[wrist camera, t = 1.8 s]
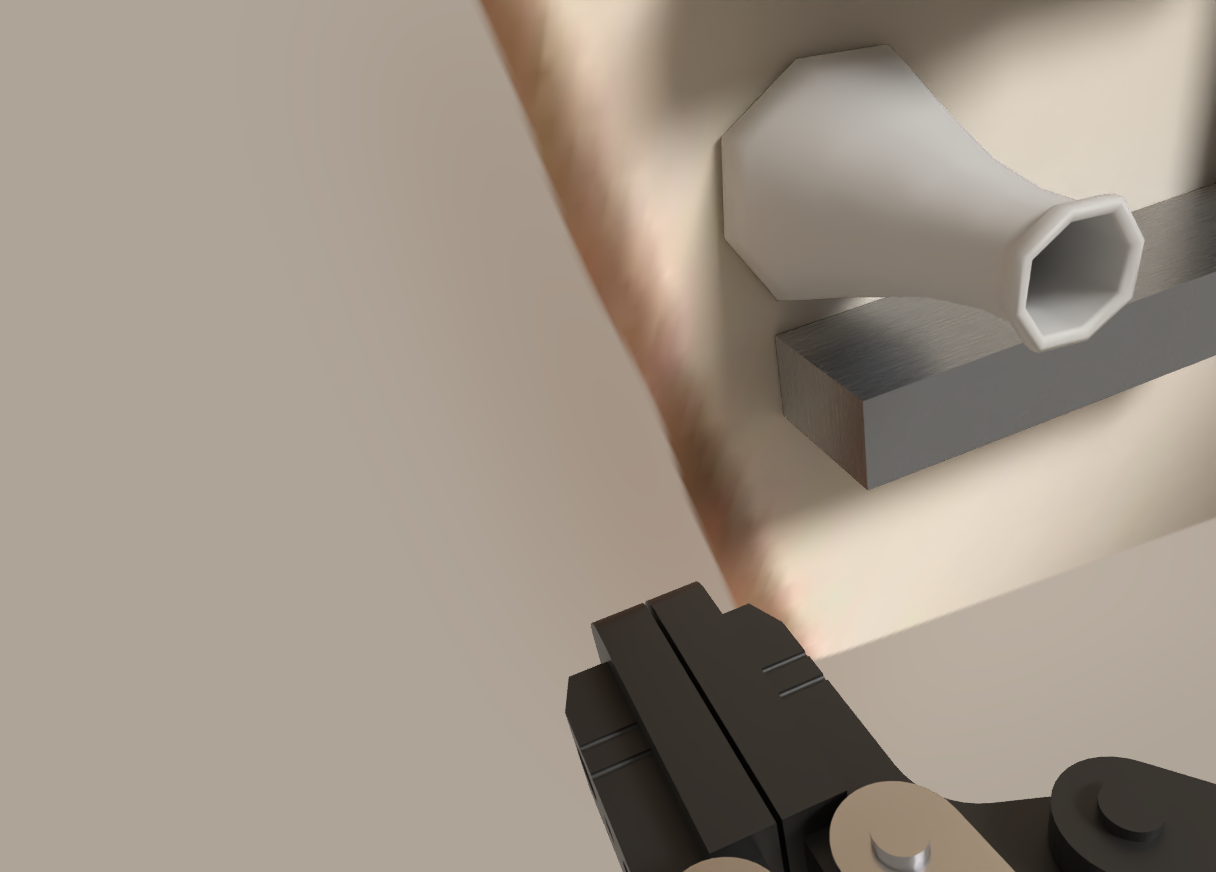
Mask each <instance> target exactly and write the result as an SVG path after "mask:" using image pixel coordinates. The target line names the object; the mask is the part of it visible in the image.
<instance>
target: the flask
mask: <svg viewBox="0 0 1216 872" xmlns="http://www.w3.org/2000/svg"><path fill="white" fill-rule="evenodd" d="M721 146H722V178H723V210H724V238H725V240H726V241H727V242H728V243H729V244H730V245H731V247H732V248H733V249H734V250H735V251H736V252H737V254H738V255H739V256H740V257H741V258H742V259H743V261H744V262H745V263H746V264H747V265H748V266H749V268H750V269H751V270H752V271H753V272H754V273H755V275H756V276H757V277H758V278H759V279H760V280H761V281H762V283H763V284H764V285H765V286H766V287H767V288H768V290H769V291H770V292H771V293H772V294H773V295H774V297H775V298H776V299H777V300H810V299H828V298H846V297H927V298H932V299H937V300H941V301H946V302H951V303H955V304H960V305H965V306H969V307H974V308H979V309H982V310H984V311H986V312H988V313H990V314H992V315H995V316H997V317H999V318H1001V319H1003V320H1005V321H1007V322H1010V323H1011V325H1012V326H1013V328H1014V329H1015V331H1016V332H1017V334H1018V336H1019V337H1020V339H1021V340H1022V342H1023V343H1024V344H1025V345H1026V346H1027V347H1028V348H1029V349H1030V350H1031V351H1034V352H1036V353H1042V352H1046V351H1050V350H1054V349H1058V348H1061V347H1065V346H1069V345H1073V344H1077V343H1081V342H1085V341H1088V340H1089V339H1090V338H1091V337H1092V336H1093V335H1094V334H1095V333H1096V332H1097V331H1098V330H1099V329H1100V328H1101V327H1103V326H1104V325H1105V324H1106V323H1107V322H1108V321H1109V320H1110V319H1111V318H1112V317H1113V316H1114V315H1115V314H1116V313H1117V312H1118V311H1119V310H1120V309H1121V308H1123V307H1124V306H1125V305H1126V304H1127V303H1128V302H1129V301H1130V300H1131V299H1132V298H1133V294H1134V289H1135V284H1136V280H1137V275H1138V270H1139V265H1140V260H1141V255H1142V251H1143V246H1144V241H1145V240H1144V237H1143V235H1142V233H1141V231H1140V229H1139V227H1138V225H1137V223H1136V221H1135V219H1134V217H1133V215H1132V213H1131V211H1130V209H1129V207H1128V205H1127V202H1126V200H1125V198H1124V197H1122V196H1119V195H1116V194H1104V195H1099V196H1094V197H1090V198H1085V199H1081V200H1074V199H1071V198H1068V197H1065V196H1062V195H1059V194H1056V193H1053V192H1050V191H1047V190H1044V189H1041V188H1040V187H1038V186H1037V185H1035V184H1033V183H1032V182H1030V181H1029V180H1027V179H1026V178H1024V177H1022V176H1021V175H1019V174H1018V173H1016V172H1014V171H1013V170H1011V169H1010V168H1008V167H1007V166H1005V165H1003V164H1002V163H1000V162H999V161H997V160H995V159H994V158H993V157H992V156H991V155H990V154H989V153H988V152H987V151H986V150H985V149H984V148H983V147H982V146H981V145H980V144H979V143H978V142H977V141H976V140H975V139H974V138H973V137H972V136H971V134H970V133H969V132H968V131H967V130H966V129H965V128H964V127H963V126H962V125H961V124H960V123H959V122H958V121H957V120H956V119H955V118H954V117H953V116H952V115H951V114H950V113H949V112H948V111H947V110H946V109H945V108H944V107H943V106H942V105H941V103H940V102H939V101H938V100H937V99H936V98H935V96H934V95H933V94H932V93H931V92H930V91H929V89H928V88H927V87H926V86H925V85H924V84H923V82H922V81H921V80H920V79H919V78H918V77H917V75H916V74H915V73H914V72H913V71H912V70H911V68H910V67H909V66H908V65H907V64H906V62H905V61H904V60H903V59H902V58H901V57H900V56H899V55H898V54H897V53H896V52H895V51H894V50H893V49H892V48H891V47H890V45H889V44H886V45H880V46H873V47H867V48H861V49H854V50H848V51H842V52H835V53H829V54H822V55H816V56H810V57H803V58H797V59H795V61H794V62H793V63H792V64H791V65H790V66H789V67H788V68H787V69H786V70H785V71H784V72H783V73H782V74H781V75H780V76H779V77H778V78H777V79H776V80H775V81H774V82H773V84H772V85H771V86H770V87H769V88H768V89H767V90H766V91H765V92H764V93H763V94H762V95H761V96H760V97H759V98H758V99H757V100H756V101H755V102H754V103H753V104H752V105H751V107H750V108H749V109H748V110H747V111H746V112H745V113H744V114H743V115H742V116H741V117H740V118H739V119H738V120H737V121H736V122H735V123H734V124H733V125H732V126H731V127H730V129H729V130H728V131H727V132H726V133H725V134H724V135H723V136H722V137H721Z"/></svg>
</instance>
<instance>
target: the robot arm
mask: <svg viewBox="0 0 1216 872" xmlns="http://www.w3.org/2000/svg"><path fill="white" fill-rule="evenodd" d="M591 628H592V632H593V636H594V640H595V643H596V647H597V650H598V654H599V658H600V661H601V664H600V665H597V666H595V667H592V668H590V669H587V670H585V671H583V672H580V673H577V674H575V675H573V676H570V677H569V681H568V690H567V700H566V709H565V713H566V717H567V720H568V723H569V725H570V729H571V732H572V735H573V738H574V741H575V744H576V747H577V750H578V754H579V756H580V760H581V763H582V766H583V769H584V772H585V775H586V778H587V781H588V785H589V787H590V790H591V793H592V795H593V798H594V800H595V803H596V805H597V808H598V810H599V813H600V815H601V818H602V820H603V823H604V824H605V827H606V830H607V833H608V835H609V838H610V840H611V843H612V845H613V848H614V850H615V852H616V855H617V858H618V860H619V863H620V865H621V867H622V870H623V872H1216V784H1213V783H1210V782H1207V781H1203V780H1200V779H1197V778H1193V777H1190V776H1186V775H1183V774H1180V773H1177V772H1173V771H1170V770H1167V769H1163V768H1160V767H1156V766H1153V765H1150V764H1147V763H1143V762H1139V761H1136V760H1132V759H1127V758H1119V757H1097V758H1091V759H1086V760H1083V761H1080V762H1077V763H1076V764H1074V765H1072V766H1070V767H1068V768H1067V769H1066V770H1065V771H1064V772H1063V773H1062V774H1061V775H1060V776H1059V778H1058V779H1057V780H1056V782H1055V784H1054V787H1053V790H1052V795H1051V797H1043V798H1034V799H1024V800H1015V801H1006V802H996V803H982V804H975V803H963V802H958V801H953V800H949V799H946V798H943V797H941V796H940V795H939V794H937V793H935V792H933V791H931V790H929V789H927V788H925V787H922V786H919V785H916V784H915V783H913V782H912V781H911V780H909V779H908V778H907V777H906V776H905V775H904V774H903V773H902V772H901V771H900V770H899V769H898V768H897V767H896V766H895V765H894V763H893V762H892V761H891V759H890V758H889V757H888V756H887V754H886V753H885V752H884V751H883V749H881V747H880V746H879V744H878V743H877V742H876V740H875V739H874V738H873V737H872V736H871V734H870V733H869V732H868V730H867V729H866V728H865V727H864V725H863V724H862V723H861V721H860V720H859V719H858V718H857V716H856V715H855V714H854V713H853V711H852V710H851V709H850V707H849V706H848V705H847V704H846V702H845V701H844V700H843V699H842V697H841V696H840V695H839V693H838V692H837V691H836V690H835V689H834V687H833V686H832V685H831V683H830V682H829V681H828V680H825V678H824V676H823V673H822V672H821V671H820V669H819V668H818V667H817V666H816V664H815V663H814V662H813V660H812V659H811V658H810V657H809V656H808V657H807V655H806V653H805V650H804V649H803V648H802V646H801V645H800V644H799V643H798V641H797V640H796V639H795V638H794V636H793V635H792V634H791V633H790V631H789V630H788V629H787V627H786V626H785V625H784V624H783V622H781V621H779V620H777V619H776V618H774V617H772V616H770V615H769V614H767V613H765V612H763V611H761V610H760V609H758V608H756V607H754V606H752V605H751V604H747V605H744V606H742V607H739V608H737V609H734V610H732V611H729V612H727V613H724V614H722V613H721V611H720V610H719V608H718V607H717V606H716V604H715V603H714V601H713V600H712V599H711V597H710V596H709V594H708V593H707V591H706V590H705V589H704V587H703V586H702V585H701V584H700V583H699V582H693V583H691V584H689V585H686V586H683V587H681V588H678V589H676V590H673V591H671V592H668V593H666V594H663V595H661V596H658V597H656V598H653V599H651V600H648V601H646V603H645V604H643V603H642V604H639V605H636V606H634V607H631V608H629V609H626V610H624V611H621V612H619V613H616V614H613V615H611V616H608V617H606V618H603V619H601V620H598V621H596V622H593V623H592V624H591Z"/></svg>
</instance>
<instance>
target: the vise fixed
mask: <svg viewBox="0 0 1216 872" xmlns="http://www.w3.org/2000/svg"><path fill="white" fill-rule="evenodd" d="M1131 213H1132V215H1133V217H1134V219H1135V221H1136V223H1137V225H1138V227H1139V229H1140V231H1141V233H1142V235H1143V237H1144V240H1145V241H1144V246H1143V251H1142V255H1141V260H1140V265H1139V270H1138V275H1137V280H1136V284H1135V289H1134V294H1133V298H1132V299H1131V300H1130V301H1129V302H1128V303H1127V304H1126V305H1125V306H1124V307H1123V308H1121V309H1120V310H1119V311H1118V312H1117V313H1116V314H1115V315H1114V316H1113V317H1112V318H1111V319H1110V320H1109V321H1108V322H1107V323H1106V324H1105V325H1104V326H1103V327H1101V328H1100V329H1099V330H1098V331H1097V332H1096V333H1095V334H1094V335H1093V336H1092V337H1091V338H1090V339H1089V340H1088V341H1085V342H1081V343H1077V344H1073V345H1069V346H1065V347H1061V348H1058V349H1054V350H1050V351H1046V352H1042V353H1036V352H1034V351H1031V350H1030V349H1029V348H1028V347H1027V346H1026V345H1025V344H1024V343H1023V342H1022V340H1021V339H1020V337H1019V336H1018V334H1017V332H1016V331H1015V329H1014V328H1013V326H1012V325H1011V323H1010V322H1007V321H1005V320H1003V319H1001V318H999V317H997V316H995V315H992V314H990V313H988V312H986V311H984V310H982V309H979V308H974V307H969V306H965V305H960V304H955V303H951V302H946V301H941V300H937V299H932V298H927V297H886V298H883V299H880V300H877V301H874V302H871V303H868V304H866V305H863V306H860V307H857V308H854V309H851V310H848V311H845V312H842V313H840V314H837V315H834V316H831V317H828V318H825V319H822V320H819V321H816V322H814V323H811V324H808V325H805V326H802V327H799V328H796V329H793V330H790V331H788V332H785V333H782V334H779V335H776V336H775V341H776V350H777V359H778V368H779V377H780V386H781V396H782V405H783V414H784V417H786V418H787V419H788V420H789V421H790V422H791V423H792V424H794V425H795V426H796V427H797V428H798V429H799V430H800V431H801V432H803V433H804V434H805V435H806V436H807V437H808V438H809V439H810V440H812V441H813V442H814V443H815V444H816V445H817V446H818V447H819V448H821V449H822V450H823V451H824V452H825V453H826V454H827V455H829V456H830V457H831V458H832V459H833V460H834V461H835V462H836V463H838V464H839V465H840V466H841V467H842V468H843V469H844V470H845V471H847V472H848V473H849V474H850V475H851V476H852V477H853V478H854V479H856V480H857V481H858V482H859V483H860V484H861V485H862V486H864V487H865V488H866V489H867V490H870V489H873V488H875V487H878V486H880V485H883V484H885V483H888V482H891V481H893V480H896V479H898V478H901V477H903V476H906V475H909V474H911V473H914V472H916V471H919V470H921V469H924V468H927V467H929V466H932V465H934V464H937V463H939V462H942V461H945V460H947V459H950V458H952V457H955V456H957V455H960V454H963V453H965V452H968V451H970V450H973V449H976V448H978V447H981V446H983V445H986V444H988V443H991V442H994V441H996V440H999V439H1001V438H1004V437H1006V436H1009V435H1012V434H1014V433H1017V432H1019V431H1022V430H1024V429H1027V428H1030V427H1032V426H1035V425H1037V424H1040V423H1042V422H1045V421H1048V420H1050V419H1053V418H1055V417H1058V416H1060V415H1063V414H1066V413H1068V412H1071V411H1073V410H1076V409H1078V408H1081V407H1084V406H1086V405H1089V404H1091V403H1094V402H1096V401H1099V400H1102V399H1104V398H1107V397H1109V396H1112V395H1114V394H1117V393H1120V392H1122V391H1125V390H1127V389H1130V388H1132V387H1135V386H1138V385H1140V384H1143V383H1145V382H1148V381H1150V380H1153V379H1156V378H1158V377H1161V376H1163V375H1166V374H1168V373H1171V372H1174V371H1176V370H1179V369H1181V368H1184V367H1186V366H1189V365H1192V364H1194V363H1197V362H1199V361H1202V360H1204V359H1207V358H1210V357H1212V356H1215V355H1216V183H1215V184H1212V185H1209V186H1206V187H1203V188H1201V189H1198V190H1195V191H1192V192H1189V193H1186V194H1183V195H1180V196H1177V197H1175V198H1172V199H1169V200H1166V201H1163V202H1160V203H1157V204H1154V205H1151V206H1149V207H1146V208H1143V209H1140V210H1137V211H1134V212H1131Z"/></svg>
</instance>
